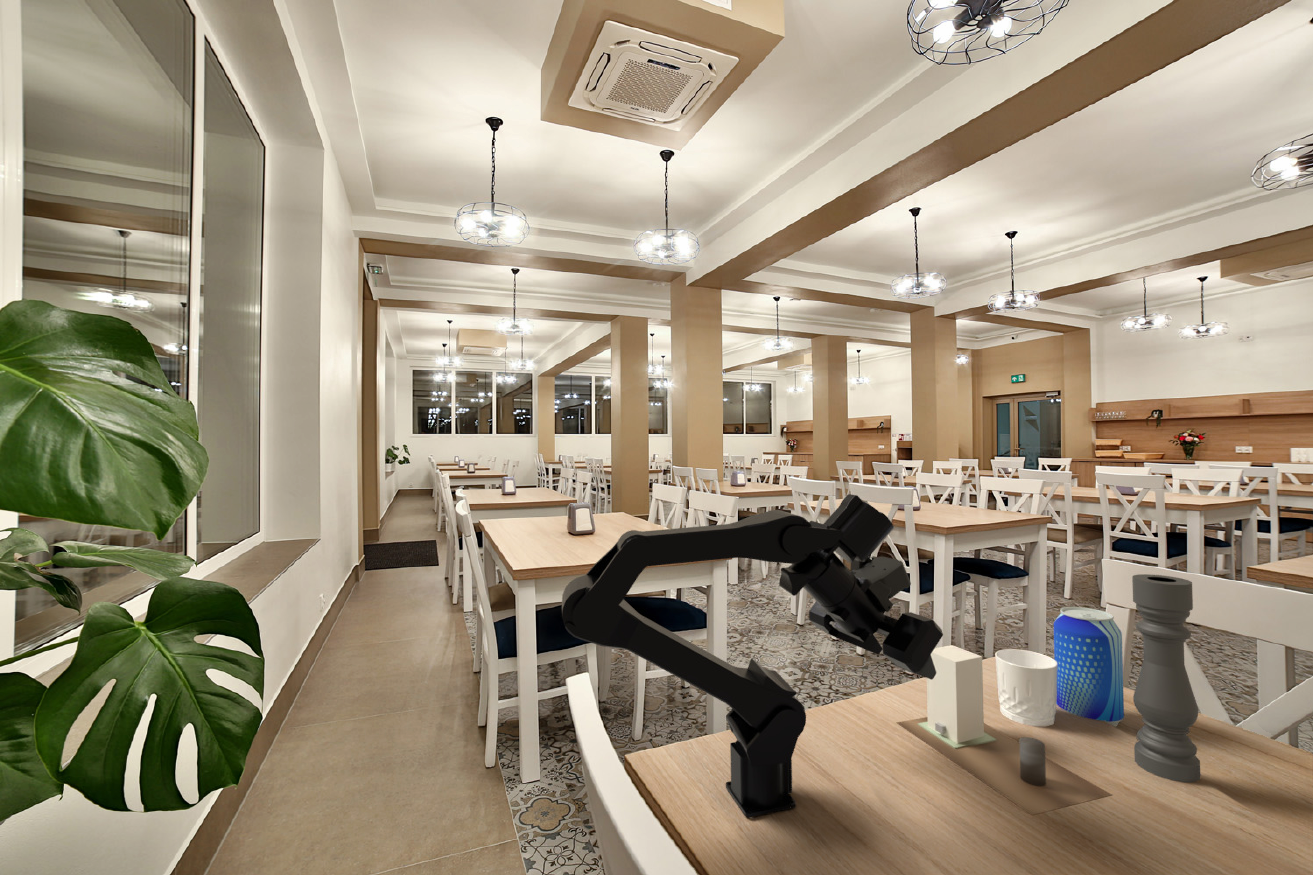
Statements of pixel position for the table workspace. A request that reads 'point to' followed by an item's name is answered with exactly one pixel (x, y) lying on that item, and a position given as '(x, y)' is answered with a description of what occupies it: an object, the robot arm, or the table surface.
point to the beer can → (1089, 664)
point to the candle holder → (1165, 679)
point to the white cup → (1027, 686)
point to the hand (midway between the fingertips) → (905, 663)
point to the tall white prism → (956, 694)
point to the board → (1012, 768)
